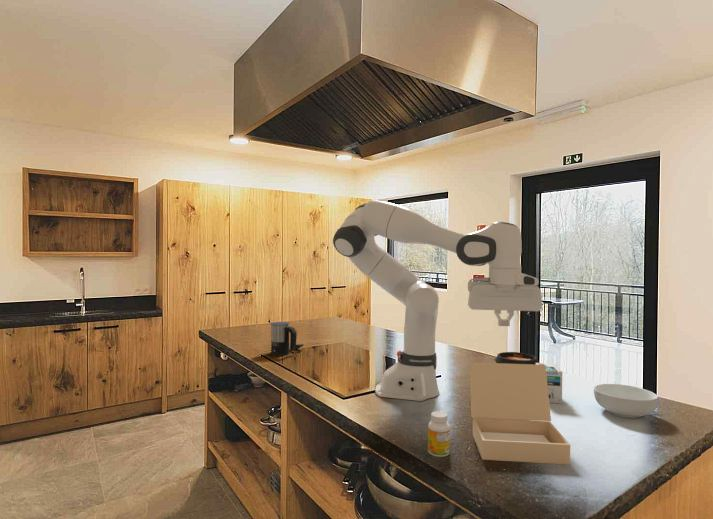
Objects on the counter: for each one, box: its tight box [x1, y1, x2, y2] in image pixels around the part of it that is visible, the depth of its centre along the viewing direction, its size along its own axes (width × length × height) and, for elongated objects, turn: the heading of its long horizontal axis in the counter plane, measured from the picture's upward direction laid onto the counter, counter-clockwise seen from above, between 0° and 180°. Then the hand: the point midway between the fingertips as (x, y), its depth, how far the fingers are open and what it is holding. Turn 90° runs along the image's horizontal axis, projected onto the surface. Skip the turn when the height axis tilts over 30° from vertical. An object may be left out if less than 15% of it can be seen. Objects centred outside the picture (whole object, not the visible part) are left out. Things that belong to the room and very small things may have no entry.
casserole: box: [494, 351, 540, 365], centre depth 174 cm, size 25×19×8 cm
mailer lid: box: [468, 361, 552, 422], centre depth 123 cm, size 21×15×10 cm
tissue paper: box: [482, 432, 549, 443], centre depth 109 cm, size 16×11×2 cm
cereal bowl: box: [593, 383, 659, 419], centre depth 135 cm, size 17×17×7 cm
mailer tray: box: [472, 417, 571, 465], centre depth 109 cm, size 20×14×5 cm
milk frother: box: [269, 321, 304, 356], centre depth 212 cm, size 14×16×15 cm
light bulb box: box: [536, 362, 563, 404], centre depth 149 cm, size 11×7×11 cm, turn 168°
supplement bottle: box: [427, 410, 451, 458], centre depth 107 cm, size 5×5×10 cm
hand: (503, 325), depth 125 cm, fingers closed
